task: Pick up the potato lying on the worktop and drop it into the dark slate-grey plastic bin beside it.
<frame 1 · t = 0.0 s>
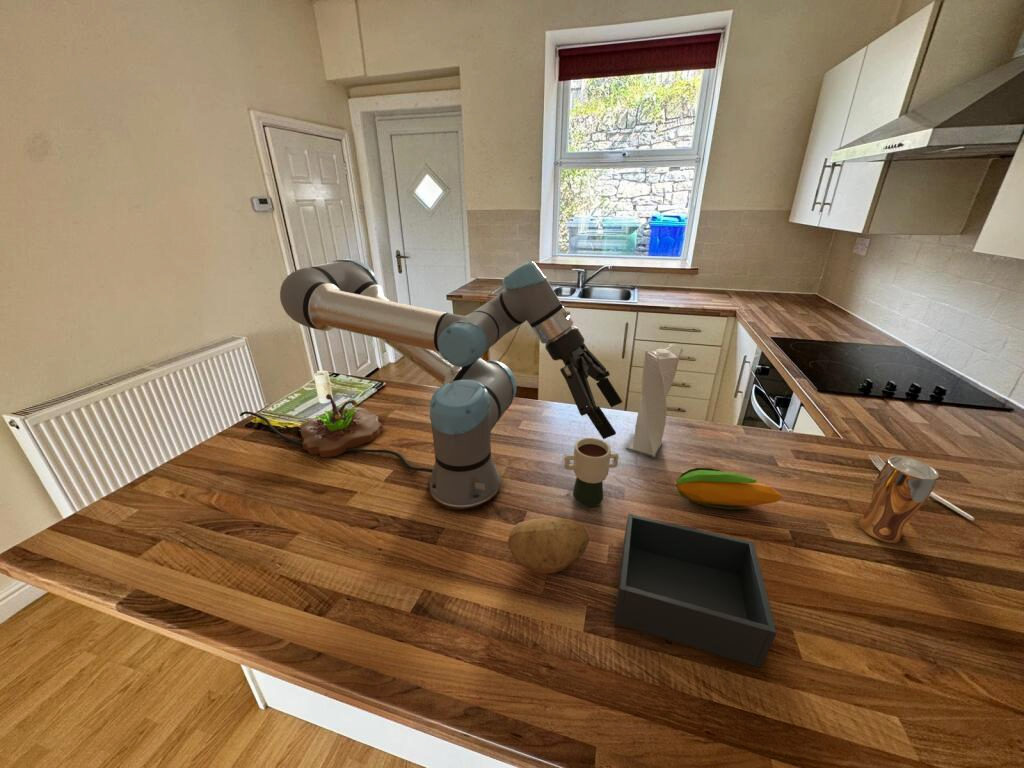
hand: (613, 419, 84), 15 cm above the worktop, tool tilted 35°, fingers open, 13 cm apart
corn: (723, 502, 83), on the worktop
character mug: (587, 499, 85), on the worktop
fork: (915, 489, 87), on the worktop
skyscraper: (646, 449, 101), on the worktop
potato: (547, 561, 70), on the worktop
bin: (681, 597, 64), on the worktop
plant: (341, 433, 108), on the worktop
silver curved cylinder: (878, 531, 76), on the worktop
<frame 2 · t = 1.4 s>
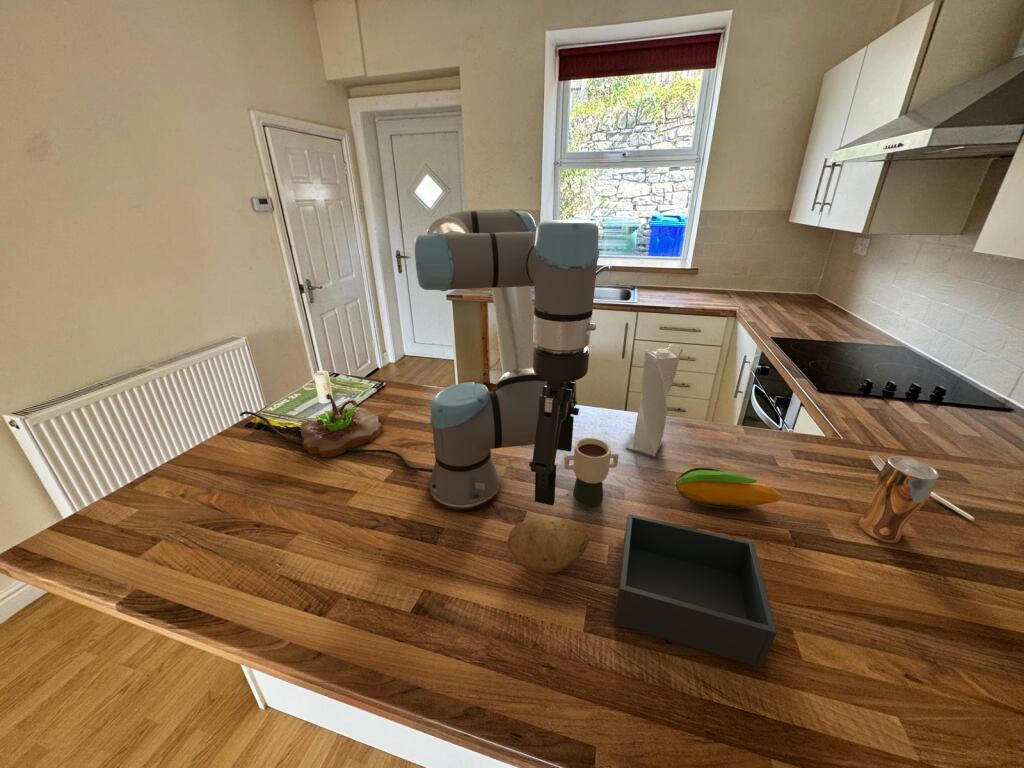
hand: (554, 473, 63), 19 cm above the worktop, tool pointing down, fingers open, 13 cm apart
nothing on the worktop moved.
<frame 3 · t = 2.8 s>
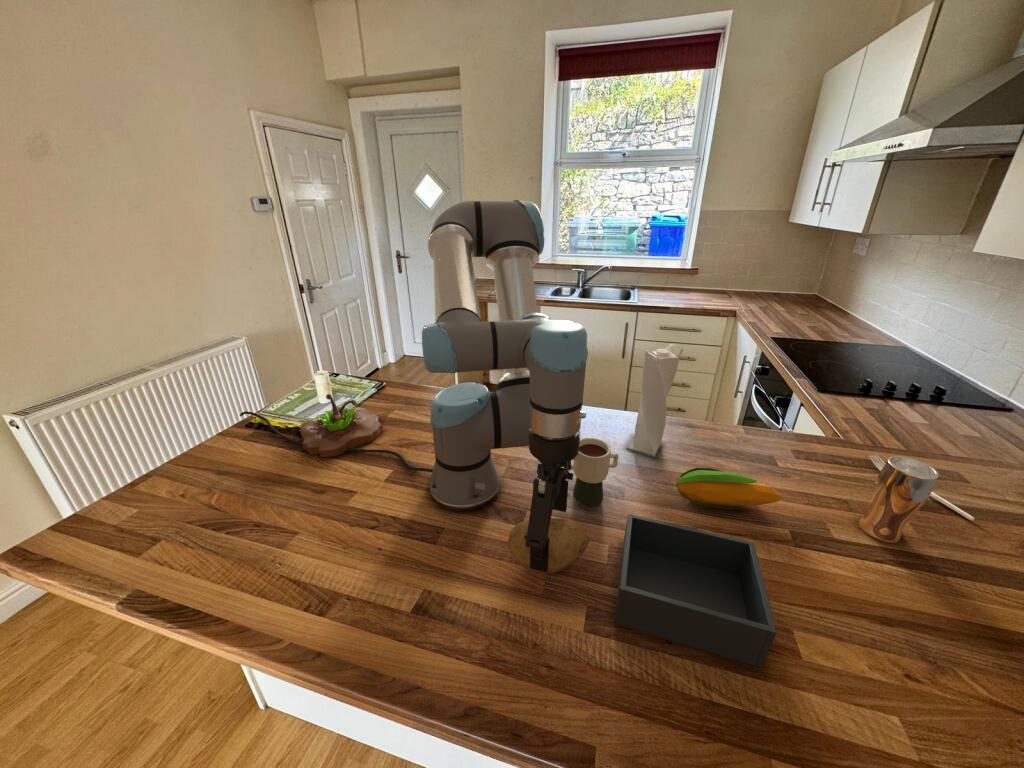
hand: (549, 536, 67), 6 cm above the worktop, tool pointing down, fingers open, 13 cm apart
nothing on the worktop moved.
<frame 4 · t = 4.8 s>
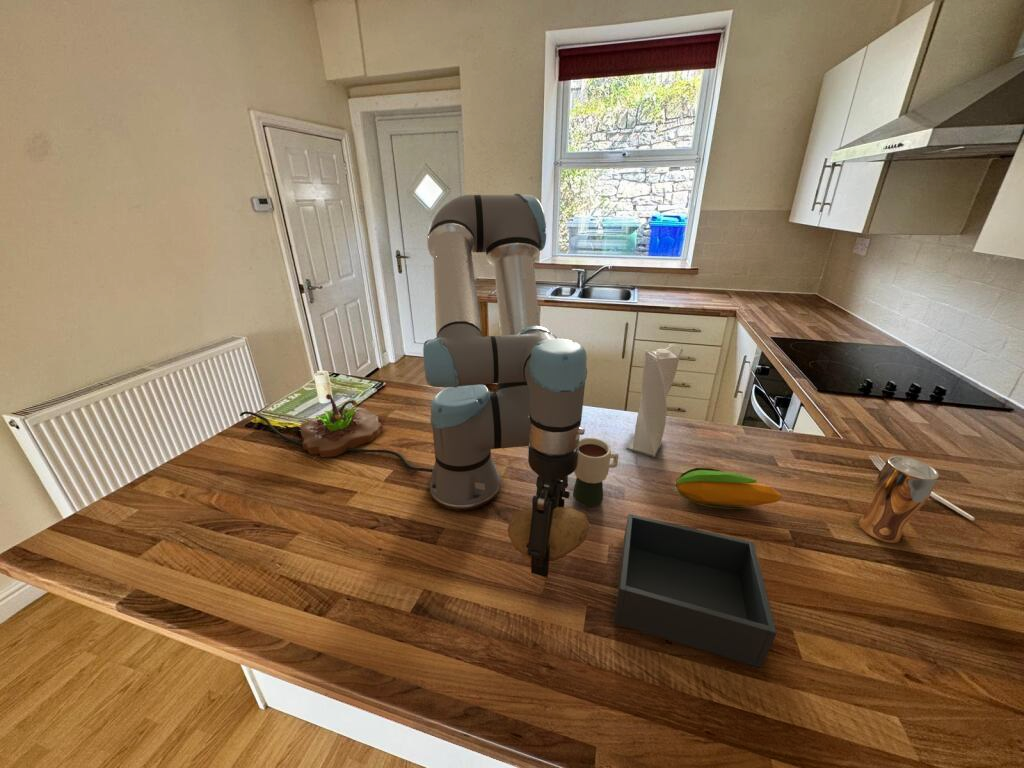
hand: (547, 548, 70), 2 cm above the worktop, tool pointing down, fingers closed on potato, 10 cm apart
potato: (547, 549, 70), point 2 cm above the worktop, touching gripper
everything else where it was.
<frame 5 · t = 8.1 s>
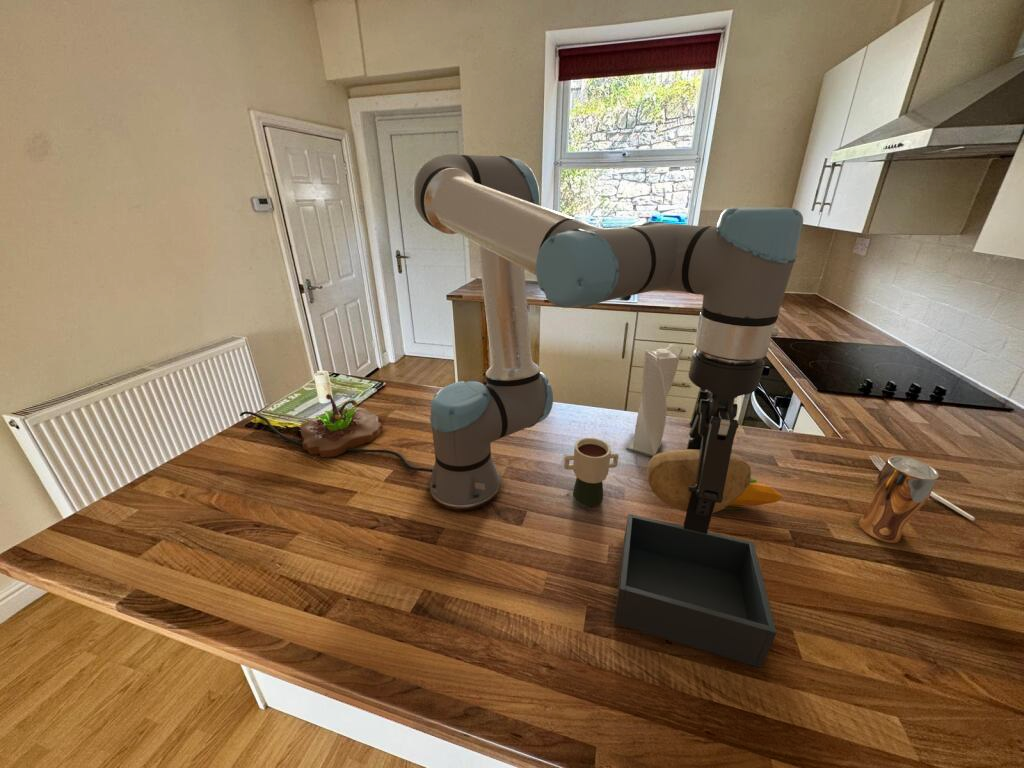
hand: (692, 501, 56), 19 cm above the worktop, tool pointing down, fingers closed on potato, 10 cm apart
potato: (691, 503, 56), point 19 cm above the worktop, touching gripper
everything else where it was.
when the fingers open (7 cm above the worktop, at t = 12.0 s): potato stays where it is, resting on bin.
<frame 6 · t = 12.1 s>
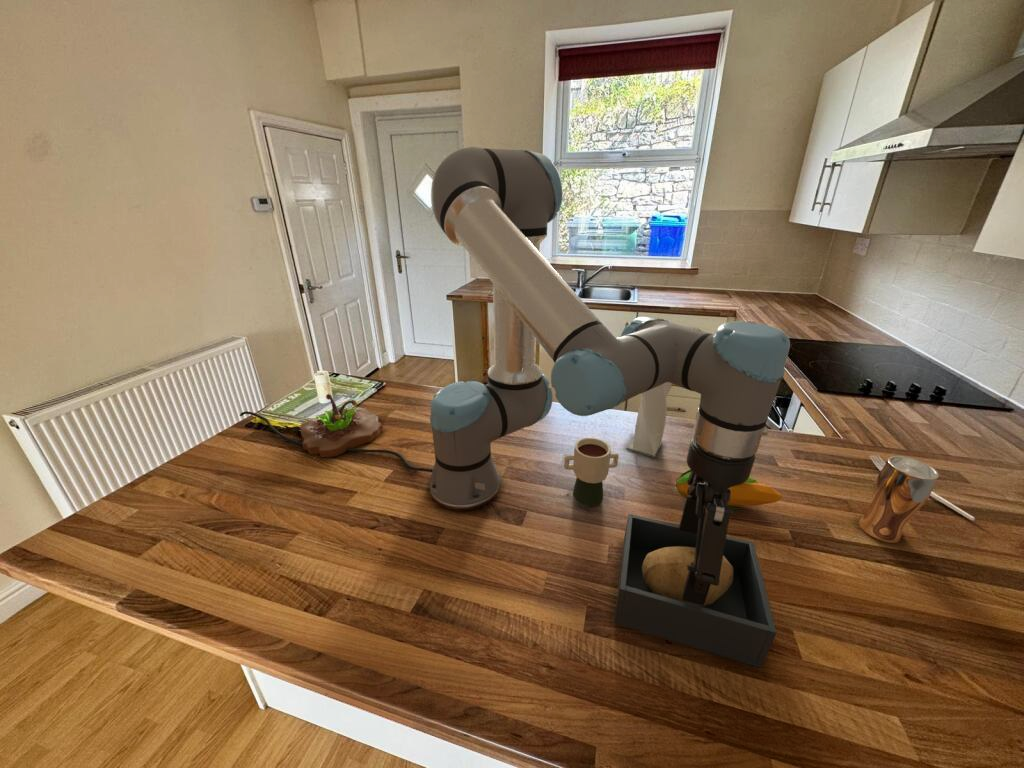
hand: (690, 562, 60), 8 cm above the worktop, tool pointing down, fingers open, 13 cm apart
potato: (681, 594, 64), resting on bin
everything else where it was.
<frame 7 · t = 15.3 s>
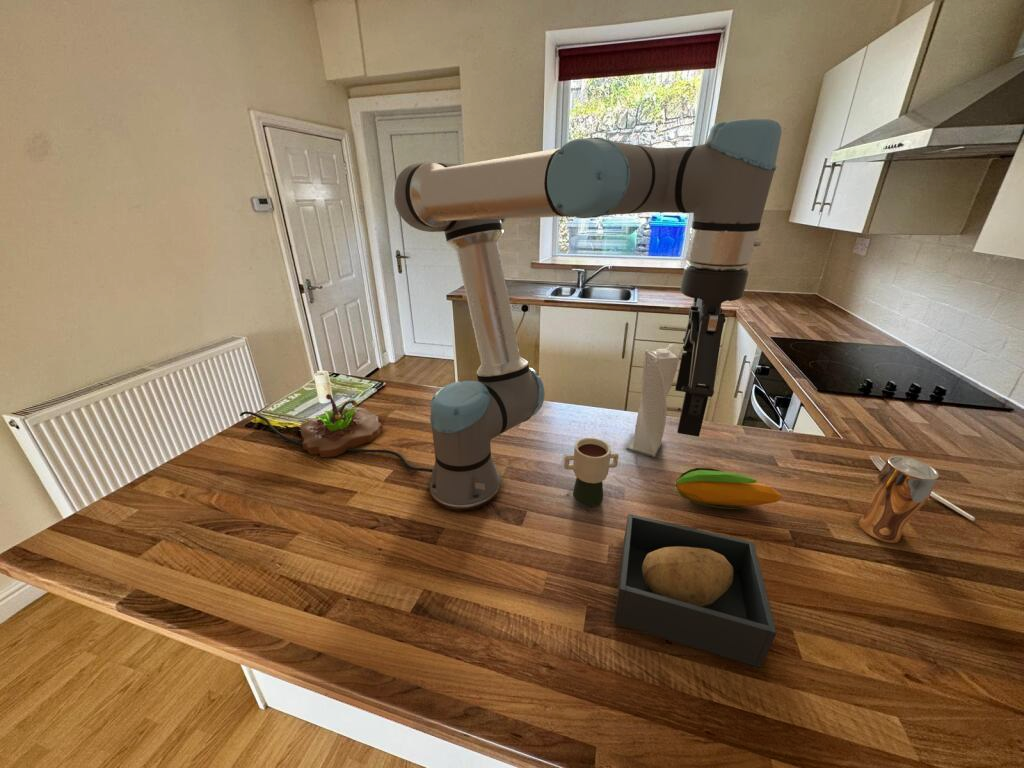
hand: (685, 410, 60), 29 cm above the worktop, tool pointing down, fingers open, 13 cm apart
nothing on the worktop moved.
at the end: potato inside the target area in the bin (0.2 cm from its centre), point 0.4 cm above the bin's base; the gripper is holding nothing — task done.
